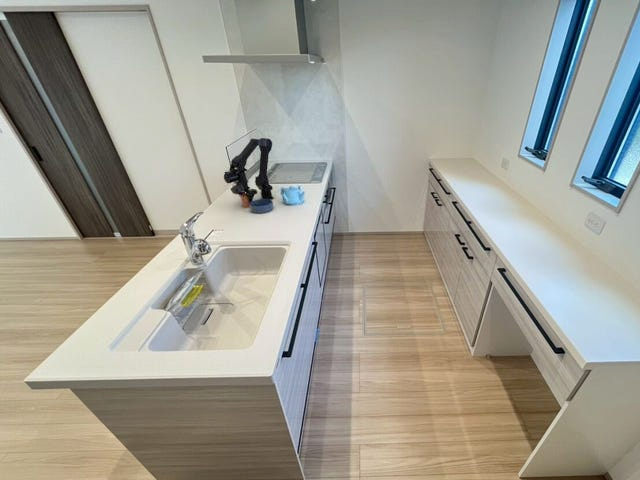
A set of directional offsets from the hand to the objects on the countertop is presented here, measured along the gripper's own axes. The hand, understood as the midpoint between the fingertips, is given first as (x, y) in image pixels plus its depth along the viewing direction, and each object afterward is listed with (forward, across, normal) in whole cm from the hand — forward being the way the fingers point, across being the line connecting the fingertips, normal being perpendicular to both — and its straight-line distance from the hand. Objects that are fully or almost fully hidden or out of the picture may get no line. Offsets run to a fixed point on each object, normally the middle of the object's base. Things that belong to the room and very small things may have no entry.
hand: (247, 203), depth 204 cm
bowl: (+2, +14, 0) cm, 14 cm away
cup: (+2, 0, 0) cm, 2 cm away
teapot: (+2, +22, +21) cm, 30 cm away
